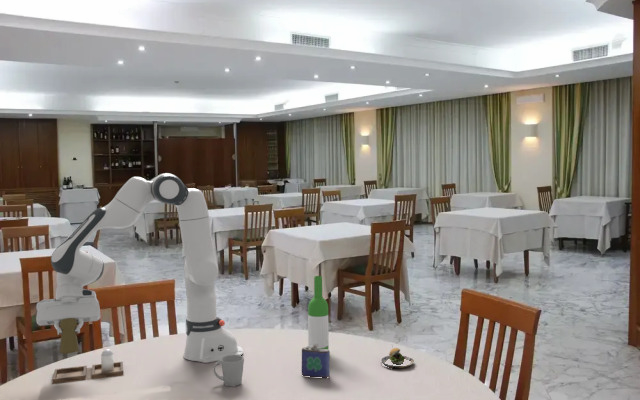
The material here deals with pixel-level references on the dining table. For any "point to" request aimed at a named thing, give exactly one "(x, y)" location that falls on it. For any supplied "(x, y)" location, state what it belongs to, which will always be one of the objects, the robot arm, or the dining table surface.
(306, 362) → the flask
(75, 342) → the olive green stopper
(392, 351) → the burger
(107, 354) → the salt cellar
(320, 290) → the wine bottle
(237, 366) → the cup
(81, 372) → the cruet board
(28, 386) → the dining table surface
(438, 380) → the dining table surface
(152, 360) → the dining table surface
